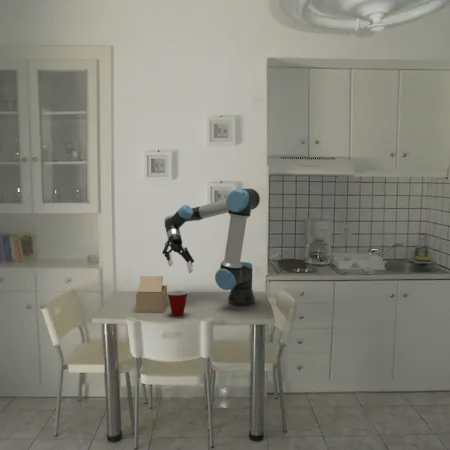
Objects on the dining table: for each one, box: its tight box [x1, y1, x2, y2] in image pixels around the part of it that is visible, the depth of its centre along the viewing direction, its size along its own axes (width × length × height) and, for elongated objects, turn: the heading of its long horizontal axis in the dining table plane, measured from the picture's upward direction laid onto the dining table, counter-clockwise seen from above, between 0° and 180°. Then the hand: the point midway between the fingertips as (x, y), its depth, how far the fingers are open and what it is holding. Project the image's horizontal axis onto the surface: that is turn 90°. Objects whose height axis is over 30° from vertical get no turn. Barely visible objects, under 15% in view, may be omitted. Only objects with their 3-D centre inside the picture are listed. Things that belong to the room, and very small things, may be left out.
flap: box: [137, 275, 164, 292], centre depth 244 cm, size 12×1×10 cm
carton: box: [135, 284, 168, 313], centre depth 250 cm, size 14×18×10 cm
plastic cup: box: [167, 290, 189, 317], centre depth 237 cm, size 11×11×12 cm
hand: (181, 268), depth 247 cm, fingers open, 13 cm apart
